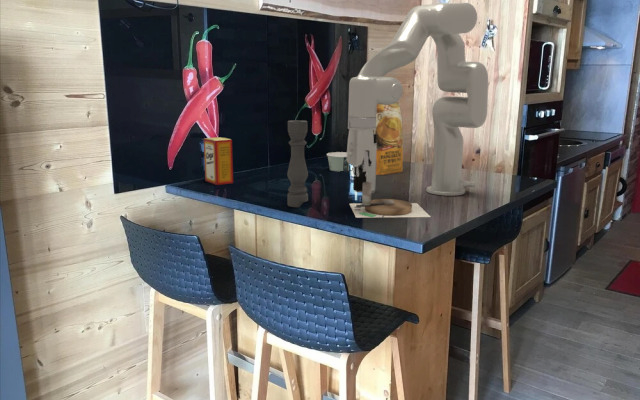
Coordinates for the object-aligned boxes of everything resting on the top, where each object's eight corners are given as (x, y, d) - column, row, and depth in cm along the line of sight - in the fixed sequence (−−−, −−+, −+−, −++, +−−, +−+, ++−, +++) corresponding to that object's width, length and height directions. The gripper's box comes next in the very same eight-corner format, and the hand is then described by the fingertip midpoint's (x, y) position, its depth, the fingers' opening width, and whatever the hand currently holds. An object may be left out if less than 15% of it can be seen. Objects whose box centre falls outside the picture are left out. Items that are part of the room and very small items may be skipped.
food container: (322, 168, 229) (322, 152, 227) (349, 166, 232) (349, 151, 231) (331, 172, 217) (331, 156, 216) (359, 171, 221) (359, 155, 220)
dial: (395, 202, 159) (396, 175, 157) (421, 212, 148) (422, 183, 146) (345, 207, 152) (346, 179, 151) (368, 218, 141) (369, 188, 139)
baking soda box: (205, 180, 199) (203, 137, 195) (221, 178, 202) (220, 136, 199) (216, 185, 191) (215, 139, 188) (233, 183, 195) (231, 138, 191)
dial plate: (416, 208, 160) (416, 202, 159) (430, 222, 144) (430, 216, 144) (349, 208, 158) (349, 202, 158) (355, 222, 143) (356, 216, 142)
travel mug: (360, 195, 176) (361, 133, 172) (353, 191, 183) (355, 131, 178) (378, 194, 178) (380, 133, 174) (371, 190, 184) (372, 131, 180)
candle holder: (307, 202, 166) (308, 120, 160) (308, 207, 159) (308, 122, 154) (287, 202, 165) (287, 120, 160) (287, 207, 159) (286, 122, 154)
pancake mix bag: (364, 174, 215) (366, 102, 208) (396, 169, 227) (399, 101, 220) (376, 176, 210) (378, 103, 203) (409, 171, 222) (412, 102, 215)
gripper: (340, 121, 152) (339, 185, 156) (357, 125, 138) (354, 196, 142) (366, 121, 154) (363, 185, 157) (384, 126, 139) (381, 195, 143)
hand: (359, 190), depth 149 cm, fingers closed
